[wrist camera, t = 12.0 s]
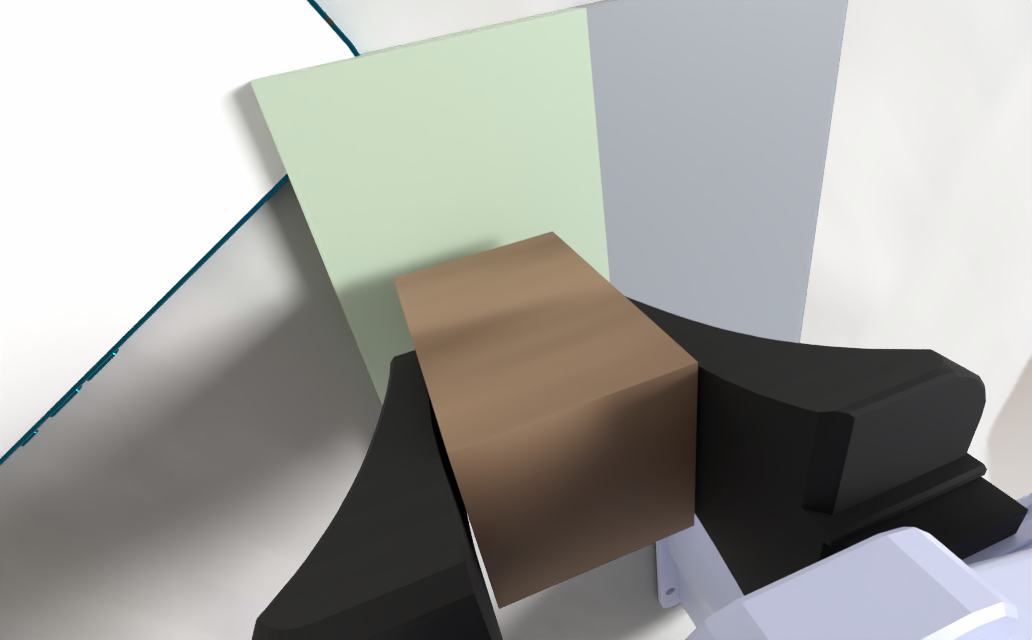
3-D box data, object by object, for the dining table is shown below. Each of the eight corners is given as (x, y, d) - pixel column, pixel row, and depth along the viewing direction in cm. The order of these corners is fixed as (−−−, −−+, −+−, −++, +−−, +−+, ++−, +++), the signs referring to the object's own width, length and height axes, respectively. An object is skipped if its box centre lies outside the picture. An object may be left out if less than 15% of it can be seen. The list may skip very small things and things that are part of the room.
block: (570, 359, 15) (694, 525, 10) (435, 407, 15) (498, 608, 10) (552, 231, 13) (697, 361, 8) (392, 278, 12) (447, 453, 7)
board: (779, 341, 21) (797, 354, 21) (414, 477, 19) (419, 498, 18) (824, -49, 14) (855, -52, 14) (254, 77, 12) (250, 82, 11)
